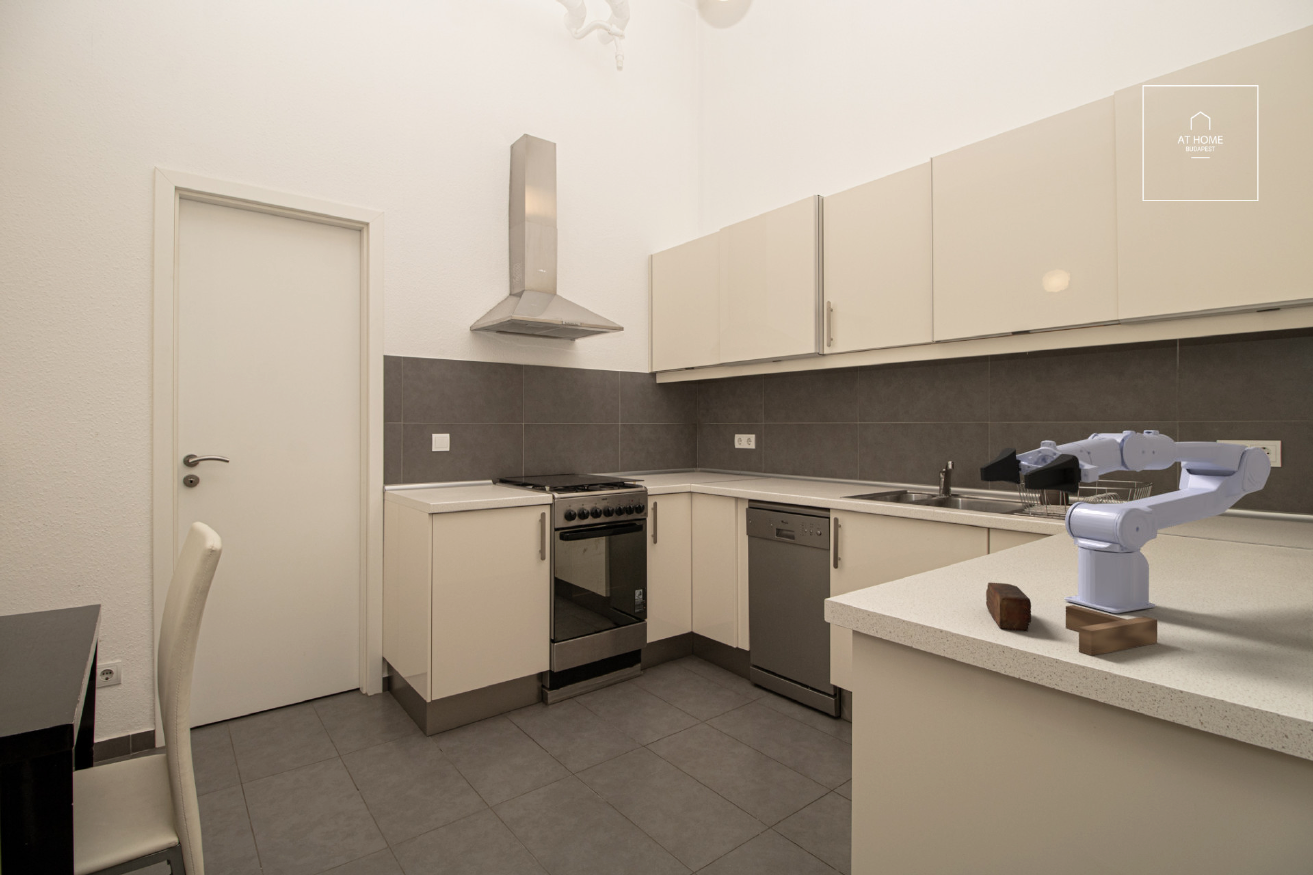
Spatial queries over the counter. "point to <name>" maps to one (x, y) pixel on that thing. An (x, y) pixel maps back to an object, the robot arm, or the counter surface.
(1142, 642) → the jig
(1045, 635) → the counter surface
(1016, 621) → the brick
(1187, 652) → the counter surface
